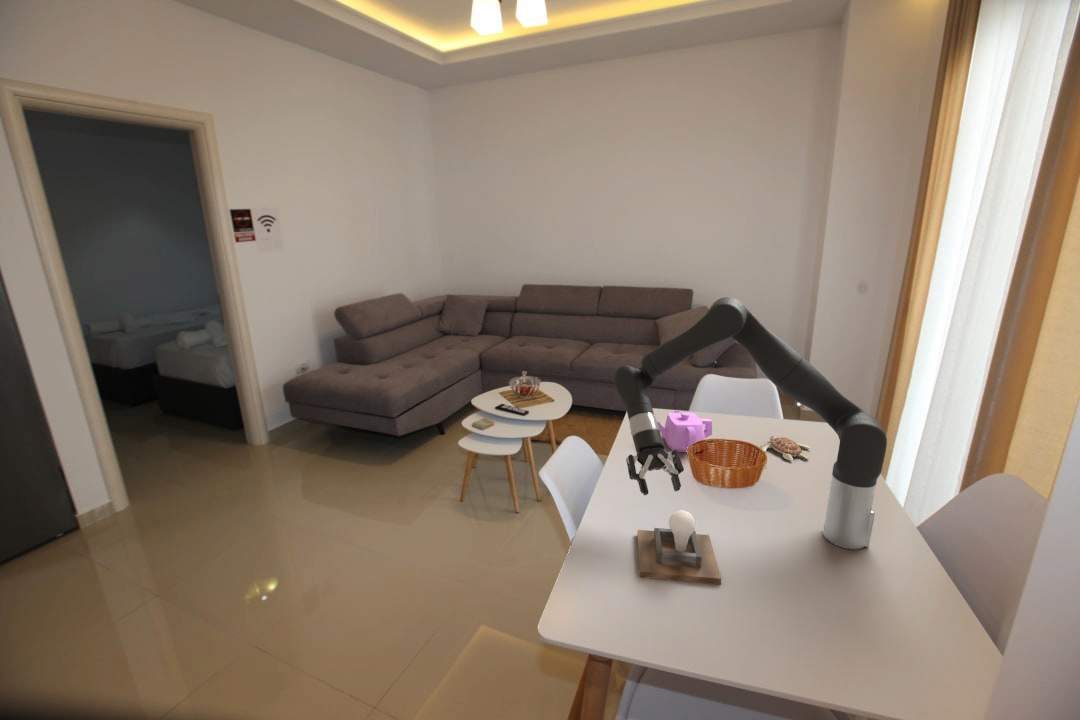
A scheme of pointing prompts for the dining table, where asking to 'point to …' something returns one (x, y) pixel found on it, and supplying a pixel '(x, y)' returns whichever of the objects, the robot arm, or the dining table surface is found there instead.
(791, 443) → the decorative turtle
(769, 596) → the dining table surface
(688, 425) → the teakettle
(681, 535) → the lightbulb
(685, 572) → the bulb holder
